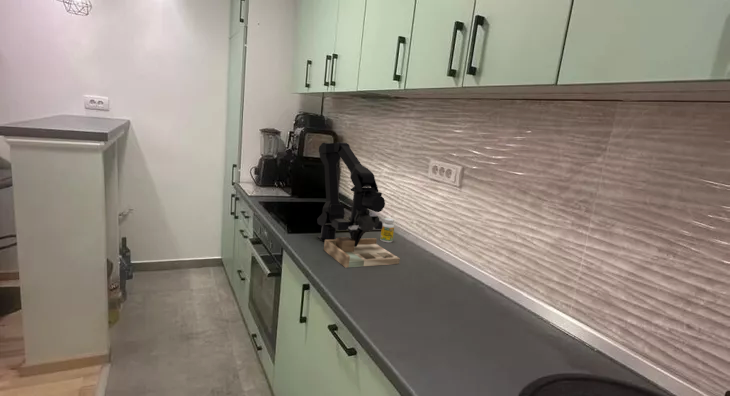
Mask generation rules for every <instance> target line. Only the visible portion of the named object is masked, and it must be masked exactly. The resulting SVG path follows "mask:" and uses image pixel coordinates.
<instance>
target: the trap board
mask: <svg viewBox="0 0 730 396" xmlns="http://www.w3.org/2000/svg"><path fill="white" fill-rule="evenodd" d="M336 239H337V238H336ZM336 239H333V240H325V242H323V243H324V245H323V251H324V252H326V253H327V254H328V255H329V256H330V257H332V259H334V260H335V261H336V262H338V263H339V264H340V265H342V266H343V267H344V268H345V269H347V268H359V267H373V266H376V267H377V266H386V265H389V266H390V265H400V261H401V260H400V259H401V258H400V257H399V256H397V255H395V254H393V253H392V252H390V251H388V250H387V249H385V248H383V246H380V245H379V244H378V243H377V242H378V241H377V240H378V238H376V237H374V238H373V237H372V238H371V237H370V238H369V237H368V238H367V237H366V238H361V239H360V241H359V243H358V245H357V247H354V252H344V251H342V250H341V249H340V248H338V247H337V246H336Z"/></svg>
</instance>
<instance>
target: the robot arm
mask: <svg viewBox="0 0 730 396" xmlns="http://www.w3.org/2000/svg"><path fill="white" fill-rule="evenodd" d="M318 152H319V159H320V161H321V162H322V164H323V166H324V167H323V168H324V182H325V183H324V184H325V186H324V187H325V203H324V205H323V207H322V212H321V214H320V215H319V216H318V217H317V221H316V222H317V225H319V226H321V232H320V235H317V239H319V240H320V241H322V242H323V243H325V240H333V239H337V237H336V232H337V231H336V230H338V231H347V230H348V234H349V235H350V236H349V237H350V238H351V239H352V240H354V241H355V246H354V247H357V245H358V243H359V241H360V239H362V237H363V235H364V234H365V233H367V232H369V231H371V232H372V231H373V230H374V229H375V230H381V229H382V227H383V222H382V221H383V220H382V221H381V220H380V217H379V216H377V215H376V216H375V215H372V216H371V214H370V211H372V212H376V213H379V212H382V211H383V210H384V209H385V206H386V202H385V198H384V197H383V196H382V195H383V193H382V192H380V191H379V188H378V185H377V181H376V178H375V174H374V173H373V172H372V171H371V170H370V169H369V168H367V167H366V166H364V165H363V164H362V163H361V162H360V160H359V159H358V158H357V156H356V154H355V152H353V150H352V149H351V147H350V144H349V143H348V142H341V141H339V142H338V141H337V142H334V143H332V142H322V143H321V144H320V145H319V147H318ZM340 159H341V160H342V161H343V163H344V165H345V166H346V168H347V169H348V171H349V173H350V180H351V182H352V184H353V187H352V188H350V191H351V192H353V197H352V205H350V206H349V209H350V210H351V212H350V213H351V214H350V216H348V221H347V220H345V215H346V213H345V205H344V203H341V201H340V200H339V199H340V198H339V180H338V163H339V161H340Z"/></svg>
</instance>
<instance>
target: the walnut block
mask: <svg viewBox="0 0 730 396" xmlns="http://www.w3.org/2000/svg"><path fill="white" fill-rule="evenodd" d="M336 246H337V247H338V248H340V249H341V250H342V251H344V252H354V246H355V241H354V240H352V239H351V237H350V236H341V237H340V236H339V237H336Z"/></svg>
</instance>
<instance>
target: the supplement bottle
mask: <svg viewBox="0 0 730 396" xmlns="http://www.w3.org/2000/svg"><path fill="white" fill-rule="evenodd" d="M383 220H384V222H382V224H383V227H382V229H380V230H381V231H380V236H379V237H380V238H379V240H380V241H381V242H384V243H392V242H393V239H394V231H395V224H394V221H395V219H393V218H389V217H387V218H386V217H385V218H384V219H383Z"/></svg>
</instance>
